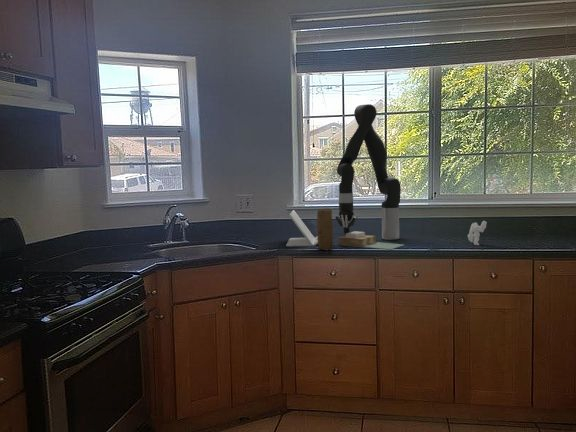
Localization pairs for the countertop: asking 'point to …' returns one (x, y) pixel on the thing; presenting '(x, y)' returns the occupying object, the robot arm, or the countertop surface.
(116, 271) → the countertop surface
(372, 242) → the board
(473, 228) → the figurine
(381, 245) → the mat
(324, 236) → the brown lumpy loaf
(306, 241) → the tablet stand
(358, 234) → the pale grey rectangular block
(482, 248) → the countertop surface
